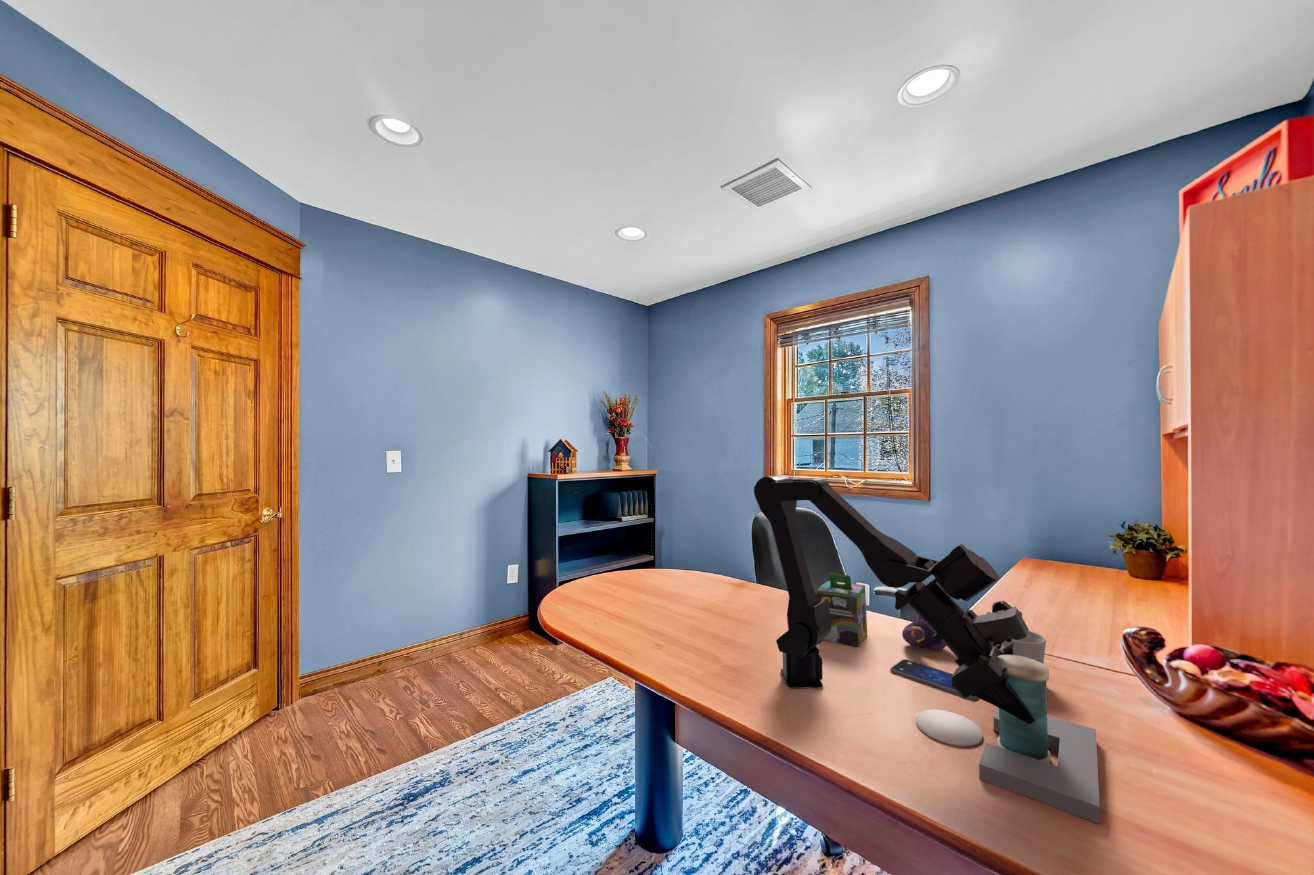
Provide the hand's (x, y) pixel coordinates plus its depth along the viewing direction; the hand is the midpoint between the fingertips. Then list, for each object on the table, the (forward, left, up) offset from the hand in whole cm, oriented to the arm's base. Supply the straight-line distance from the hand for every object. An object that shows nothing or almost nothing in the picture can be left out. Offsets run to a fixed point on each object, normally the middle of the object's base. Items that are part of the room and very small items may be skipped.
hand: (1034, 711), depth 70 cm
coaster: (-8, +7, -7) cm, 13 cm away
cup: (+13, +23, -7) cm, 27 cm away
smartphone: (-1, +23, -7) cm, 24 cm away
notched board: (0, 0, -7) cm, 7 cm away
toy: (+5, +36, -7) cm, 37 cm away
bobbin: (-1, +1, -7) cm, 7 cm away
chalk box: (-12, +43, -7) cm, 45 cm away
